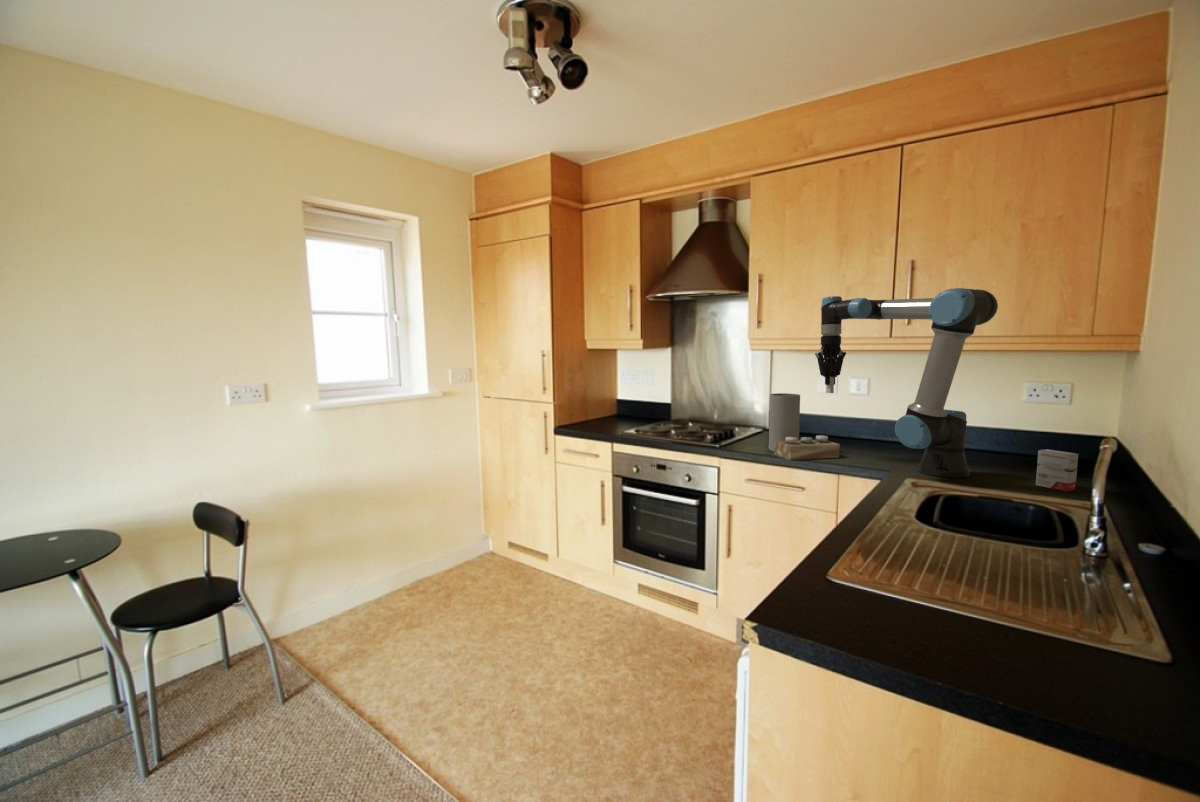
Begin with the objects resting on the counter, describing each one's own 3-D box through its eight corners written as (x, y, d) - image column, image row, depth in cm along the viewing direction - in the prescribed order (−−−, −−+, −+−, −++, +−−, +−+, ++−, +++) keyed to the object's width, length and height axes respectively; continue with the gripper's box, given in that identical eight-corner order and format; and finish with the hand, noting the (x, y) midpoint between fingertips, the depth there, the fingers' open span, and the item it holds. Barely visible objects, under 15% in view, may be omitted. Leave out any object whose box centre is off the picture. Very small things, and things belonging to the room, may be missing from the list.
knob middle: (814, 456, 209) (815, 438, 208) (804, 457, 208) (805, 439, 208) (807, 454, 214) (808, 436, 213) (798, 454, 213) (798, 437, 212)
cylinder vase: (763, 448, 230) (764, 393, 227) (789, 447, 231) (790, 393, 229) (777, 454, 217) (778, 396, 215) (804, 452, 219) (806, 395, 217)
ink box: (1076, 490, 159) (1079, 453, 158) (1067, 492, 157) (1070, 454, 156) (1043, 483, 167) (1046, 448, 165) (1034, 485, 165) (1037, 449, 164)
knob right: (829, 454, 210) (830, 436, 210) (819, 455, 210) (820, 437, 209) (822, 452, 215) (823, 435, 214) (813, 453, 214) (813, 435, 213)
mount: (839, 458, 207) (839, 444, 207) (790, 461, 203) (790, 446, 203) (820, 452, 219) (821, 439, 218) (774, 455, 215) (774, 441, 214)
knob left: (799, 456, 208) (799, 438, 207) (789, 457, 207) (789, 438, 206) (792, 454, 212) (793, 436, 212) (782, 454, 211) (783, 437, 211)
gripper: (838, 335, 211) (837, 391, 213) (811, 335, 209) (810, 392, 211) (851, 334, 204) (850, 393, 206) (822, 335, 201) (821, 394, 203)
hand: (829, 392), depth 208 cm, fingers closed
